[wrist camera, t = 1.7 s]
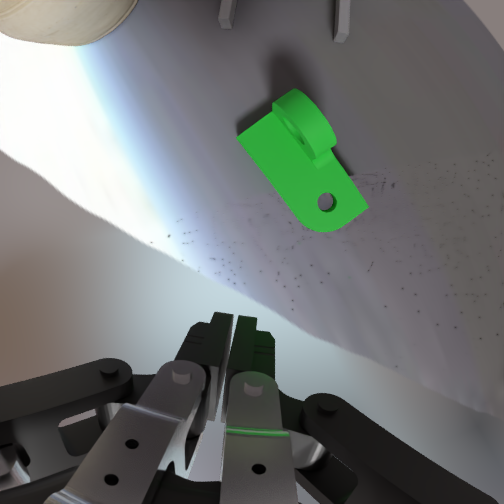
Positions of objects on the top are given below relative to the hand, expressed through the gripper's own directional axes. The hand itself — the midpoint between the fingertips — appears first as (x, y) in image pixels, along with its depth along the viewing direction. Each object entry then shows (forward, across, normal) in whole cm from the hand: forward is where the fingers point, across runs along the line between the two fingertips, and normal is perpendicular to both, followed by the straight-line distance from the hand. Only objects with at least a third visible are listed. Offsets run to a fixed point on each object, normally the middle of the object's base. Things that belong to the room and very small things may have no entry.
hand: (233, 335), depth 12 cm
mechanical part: (+20, -4, -7) cm, 21 cm away
